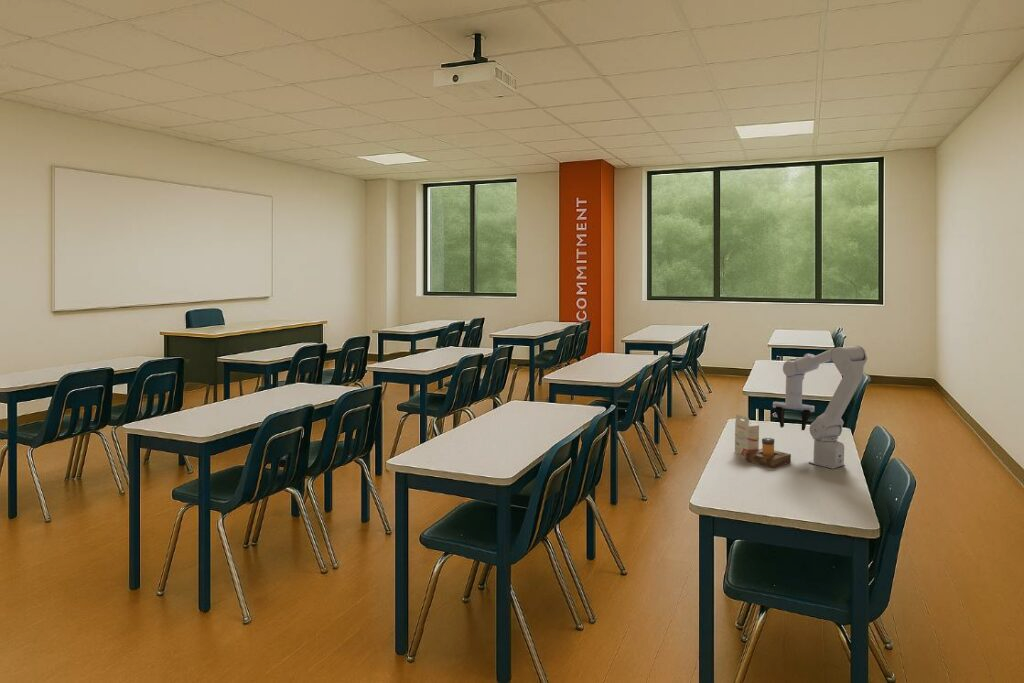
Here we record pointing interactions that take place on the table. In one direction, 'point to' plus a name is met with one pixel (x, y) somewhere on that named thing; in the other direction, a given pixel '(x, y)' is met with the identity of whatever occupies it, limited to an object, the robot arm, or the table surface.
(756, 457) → the socket block
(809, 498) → the table surface
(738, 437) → the ink cartridge box
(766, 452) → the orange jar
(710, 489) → the table surface
